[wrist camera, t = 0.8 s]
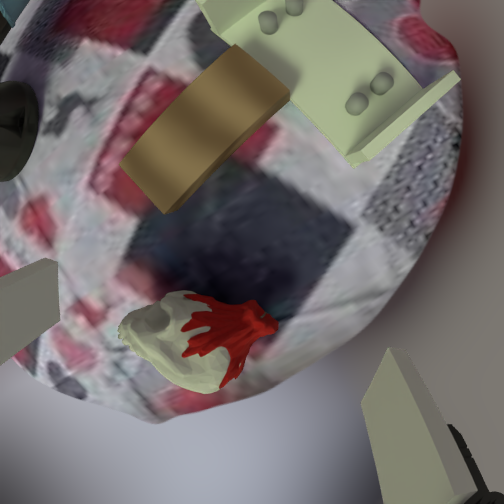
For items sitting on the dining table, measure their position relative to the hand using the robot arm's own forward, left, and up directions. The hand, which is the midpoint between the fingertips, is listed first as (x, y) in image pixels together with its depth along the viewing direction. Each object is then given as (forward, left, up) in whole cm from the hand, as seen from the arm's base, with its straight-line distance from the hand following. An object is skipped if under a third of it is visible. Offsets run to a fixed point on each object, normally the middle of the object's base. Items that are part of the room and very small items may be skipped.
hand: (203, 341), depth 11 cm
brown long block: (-11, +3, -22) cm, 25 cm away
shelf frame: (-9, +17, -21) cm, 29 cm away
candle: (+4, -11, -21) cm, 24 cm away
